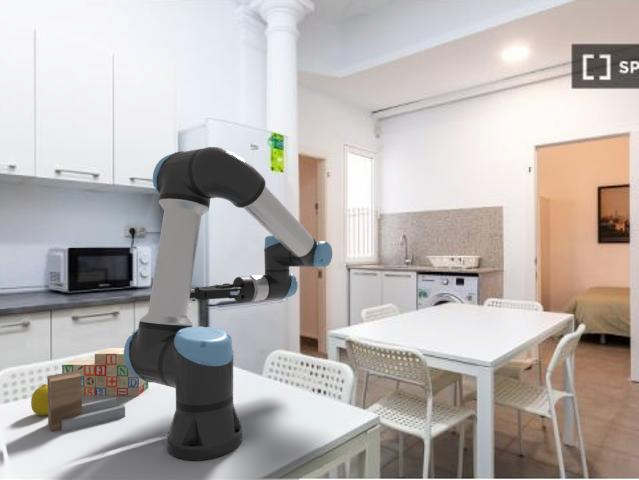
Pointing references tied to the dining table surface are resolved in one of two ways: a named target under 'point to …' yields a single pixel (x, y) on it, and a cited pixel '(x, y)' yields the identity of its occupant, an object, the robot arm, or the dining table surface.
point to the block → (63, 398)
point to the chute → (94, 414)
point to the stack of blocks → (106, 374)
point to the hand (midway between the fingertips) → (169, 296)
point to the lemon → (40, 400)
